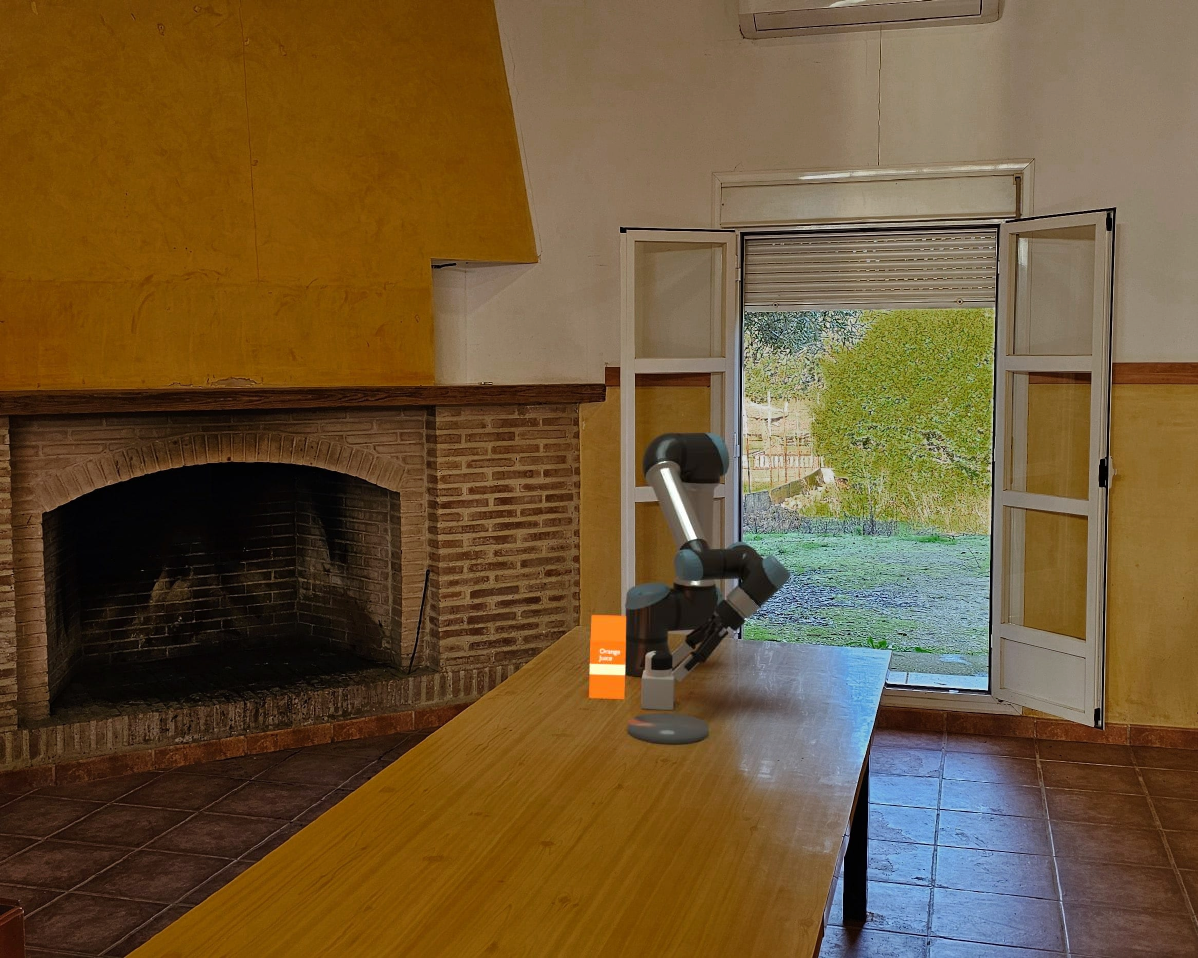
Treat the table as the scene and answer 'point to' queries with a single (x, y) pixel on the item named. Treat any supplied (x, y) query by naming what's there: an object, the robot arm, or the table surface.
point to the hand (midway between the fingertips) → (672, 670)
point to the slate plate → (668, 728)
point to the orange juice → (607, 657)
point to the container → (658, 682)
